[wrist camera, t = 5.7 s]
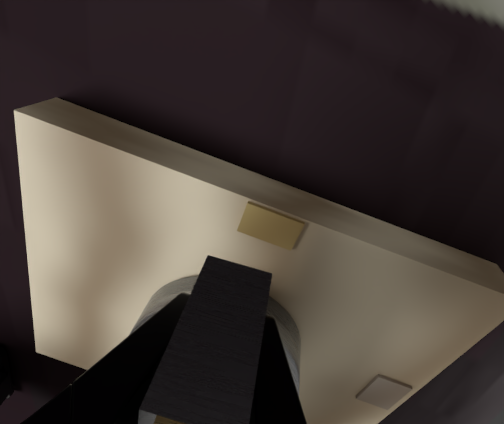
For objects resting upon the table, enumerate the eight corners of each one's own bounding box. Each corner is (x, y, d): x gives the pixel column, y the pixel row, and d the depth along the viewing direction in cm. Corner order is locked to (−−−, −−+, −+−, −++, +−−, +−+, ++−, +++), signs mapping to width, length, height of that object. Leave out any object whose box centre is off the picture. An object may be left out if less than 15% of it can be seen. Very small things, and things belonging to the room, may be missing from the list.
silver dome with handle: (261, 425, 17) (238, 616, 12) (140, 389, 17) (59, 562, 12) (355, 246, 10) (406, 504, 5) (153, 188, 11) (-26, 376, 5)
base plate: (60, 322, 19) (34, 354, 17) (56, 97, 12) (10, 111, 10) (334, 419, 20) (337, 460, 18) (496, 264, 12) (528, 305, 11)
